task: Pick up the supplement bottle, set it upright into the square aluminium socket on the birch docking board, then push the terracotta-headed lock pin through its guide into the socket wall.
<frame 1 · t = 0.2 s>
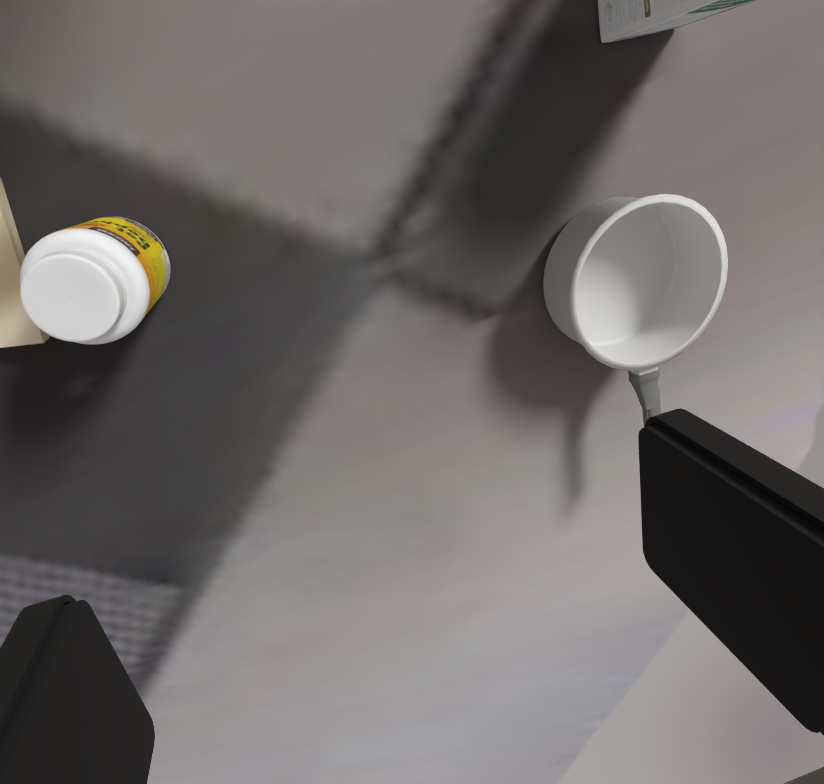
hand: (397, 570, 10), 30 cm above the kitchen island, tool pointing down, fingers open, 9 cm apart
supplement bottle: (122, 262, 35), on the kitchen island
saucepan: (607, 325, 44), on the kitchen island
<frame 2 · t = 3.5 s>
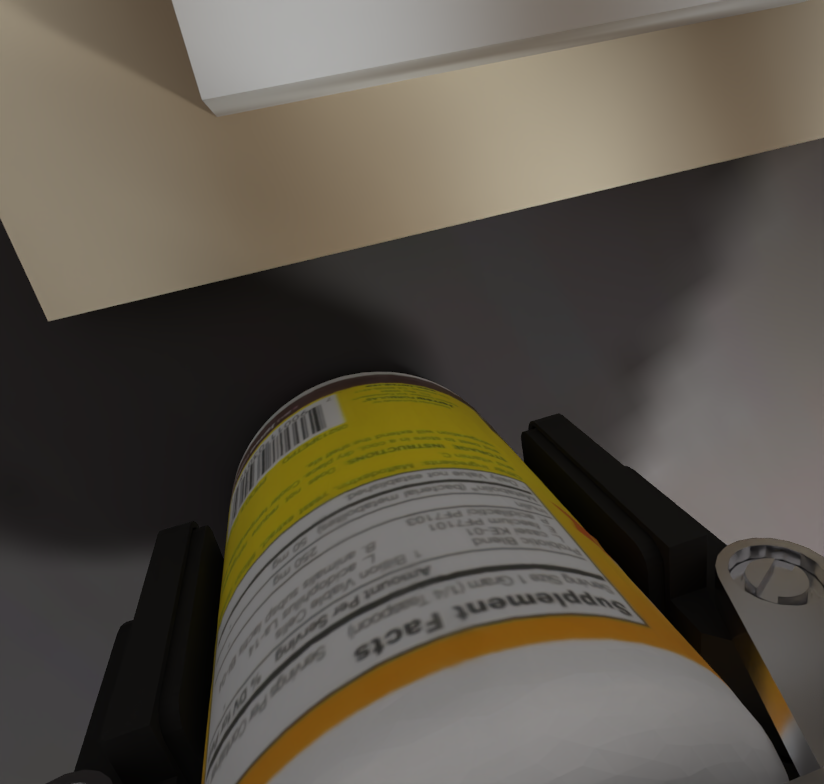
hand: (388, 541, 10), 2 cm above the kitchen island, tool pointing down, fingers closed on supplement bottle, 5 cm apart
supplement bottle: (367, 480, 12), on the kitchen island, touching gripper
when the fingers open (5 cm above the kitchen island, at t = 8.9 s): supplement bottle drops 1 cm, resting on dock.
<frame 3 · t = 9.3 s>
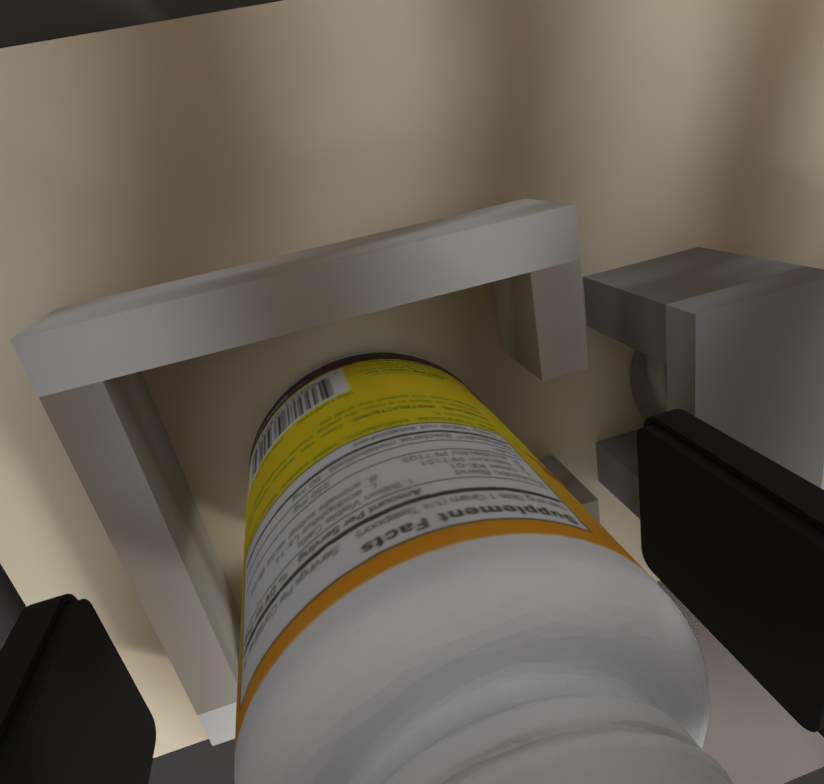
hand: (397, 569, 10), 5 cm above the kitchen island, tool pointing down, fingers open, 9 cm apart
supplement bottle: (369, 450, 14), point 1 cm above the kitchen island, touching dock
lock pin: (821, 355, 14), point 3 cm above the kitchen island, slide at 0.0 cm
dock: (493, 356, 15), on the kitchen island
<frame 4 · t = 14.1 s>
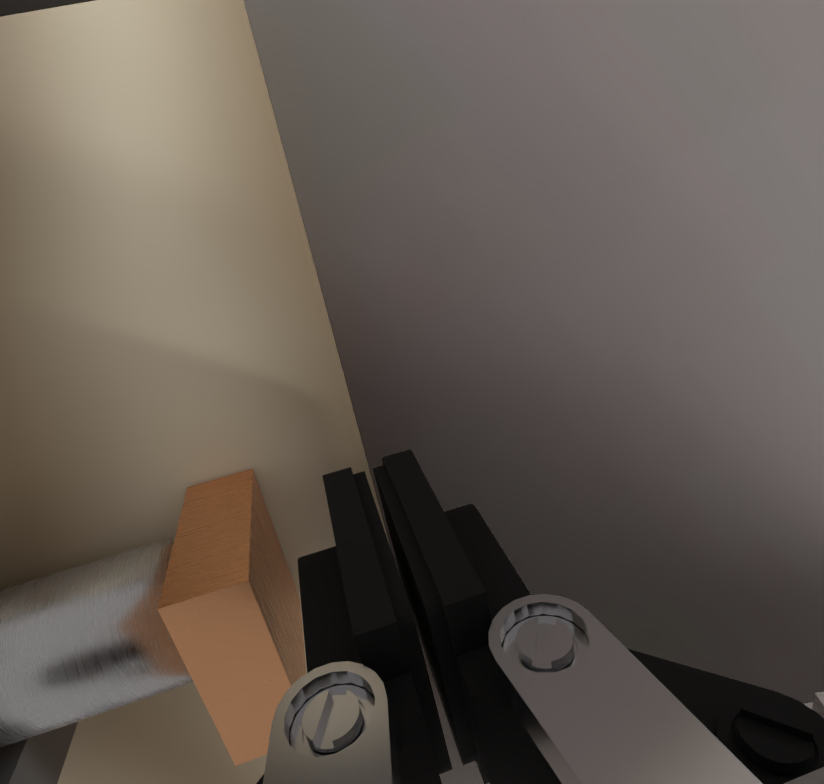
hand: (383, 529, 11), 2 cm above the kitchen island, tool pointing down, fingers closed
lock pin: (34, 671, 9), point 3 cm above the kitchen island, slide at 1.1 cm, touching gripper
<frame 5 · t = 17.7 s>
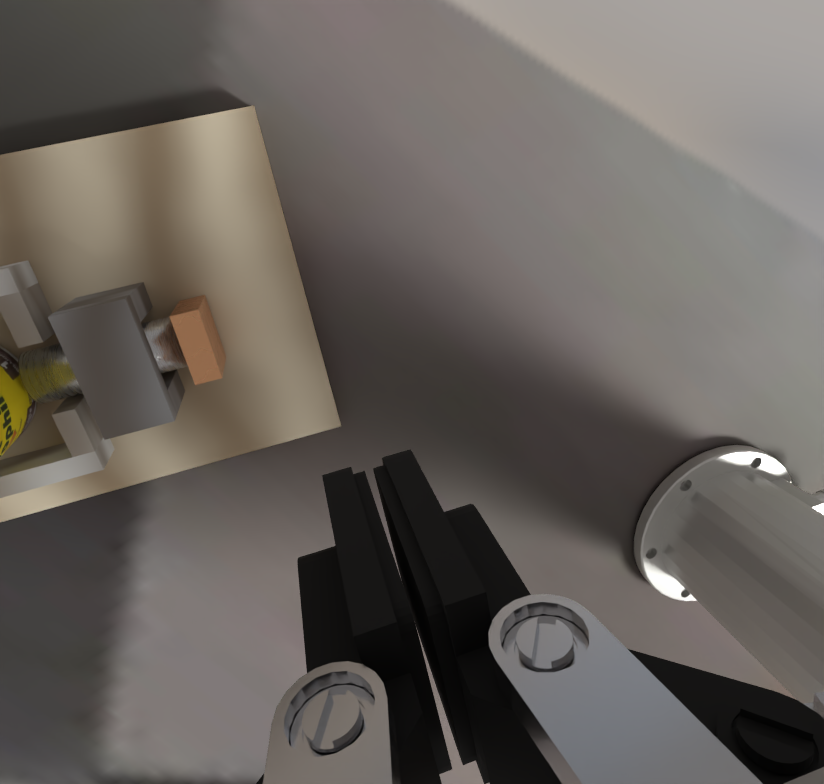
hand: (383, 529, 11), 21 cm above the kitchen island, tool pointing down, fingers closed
lock pin: (124, 357, 26), point 3 cm above the kitchen island, slide at 3.6 cm
dock: (55, 338, 28), on the kitchen island
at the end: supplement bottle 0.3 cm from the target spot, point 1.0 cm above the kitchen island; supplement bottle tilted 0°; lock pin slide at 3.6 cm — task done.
